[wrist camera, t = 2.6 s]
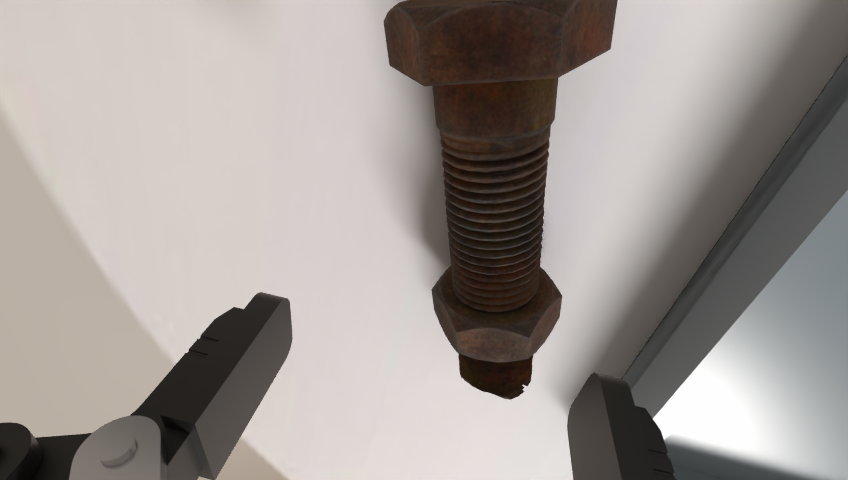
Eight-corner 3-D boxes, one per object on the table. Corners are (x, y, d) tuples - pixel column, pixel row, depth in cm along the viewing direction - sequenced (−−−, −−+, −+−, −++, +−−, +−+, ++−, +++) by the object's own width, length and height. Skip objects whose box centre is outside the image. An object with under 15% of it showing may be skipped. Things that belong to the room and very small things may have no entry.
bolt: (484, 314, 21) (476, -15, 13) (575, 359, 19) (641, -28, 10) (412, 390, 18) (337, 12, 10) (510, 460, 15) (526, 3, 7)
